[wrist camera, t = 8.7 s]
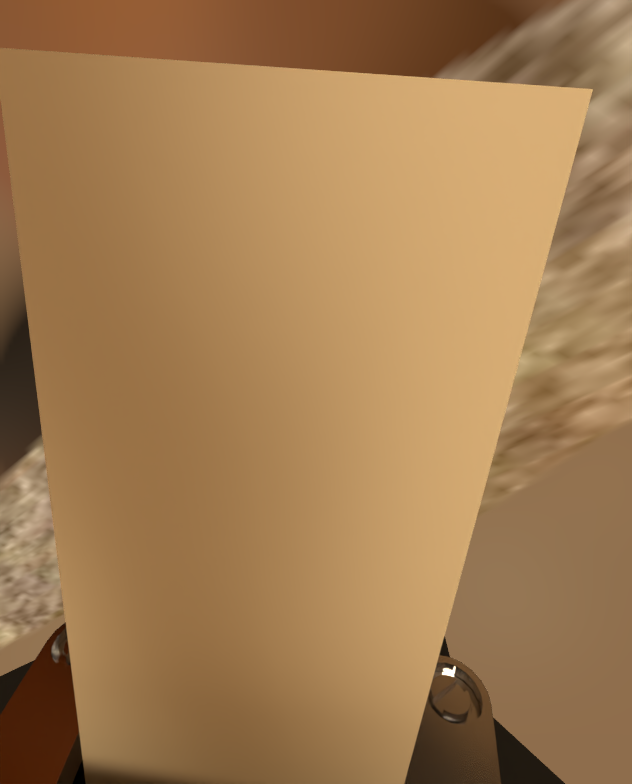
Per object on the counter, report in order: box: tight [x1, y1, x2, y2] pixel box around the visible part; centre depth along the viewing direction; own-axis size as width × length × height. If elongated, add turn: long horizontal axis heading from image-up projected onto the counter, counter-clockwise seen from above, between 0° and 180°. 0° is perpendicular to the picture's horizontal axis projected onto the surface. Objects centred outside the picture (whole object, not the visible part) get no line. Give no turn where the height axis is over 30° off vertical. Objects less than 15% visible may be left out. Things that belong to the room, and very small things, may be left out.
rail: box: [0, 48, 593, 784], centre depth 8 cm, size 4×18×7 cm, turn 174°
